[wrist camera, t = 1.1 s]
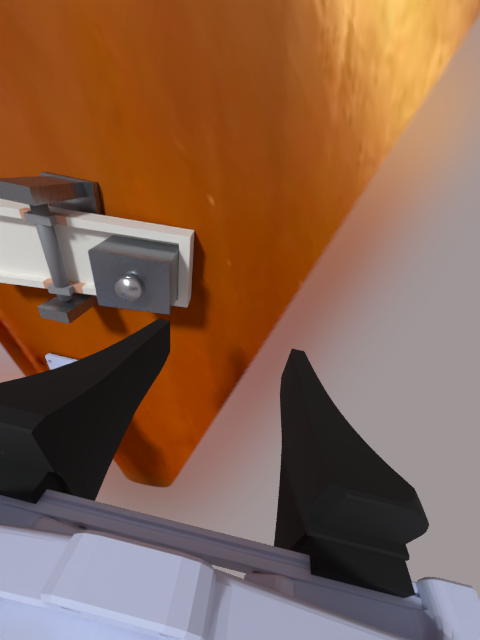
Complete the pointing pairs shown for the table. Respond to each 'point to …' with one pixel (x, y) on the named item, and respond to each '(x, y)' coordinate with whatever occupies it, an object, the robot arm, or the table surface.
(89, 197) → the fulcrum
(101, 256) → the block
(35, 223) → the beam
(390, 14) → the table surface
